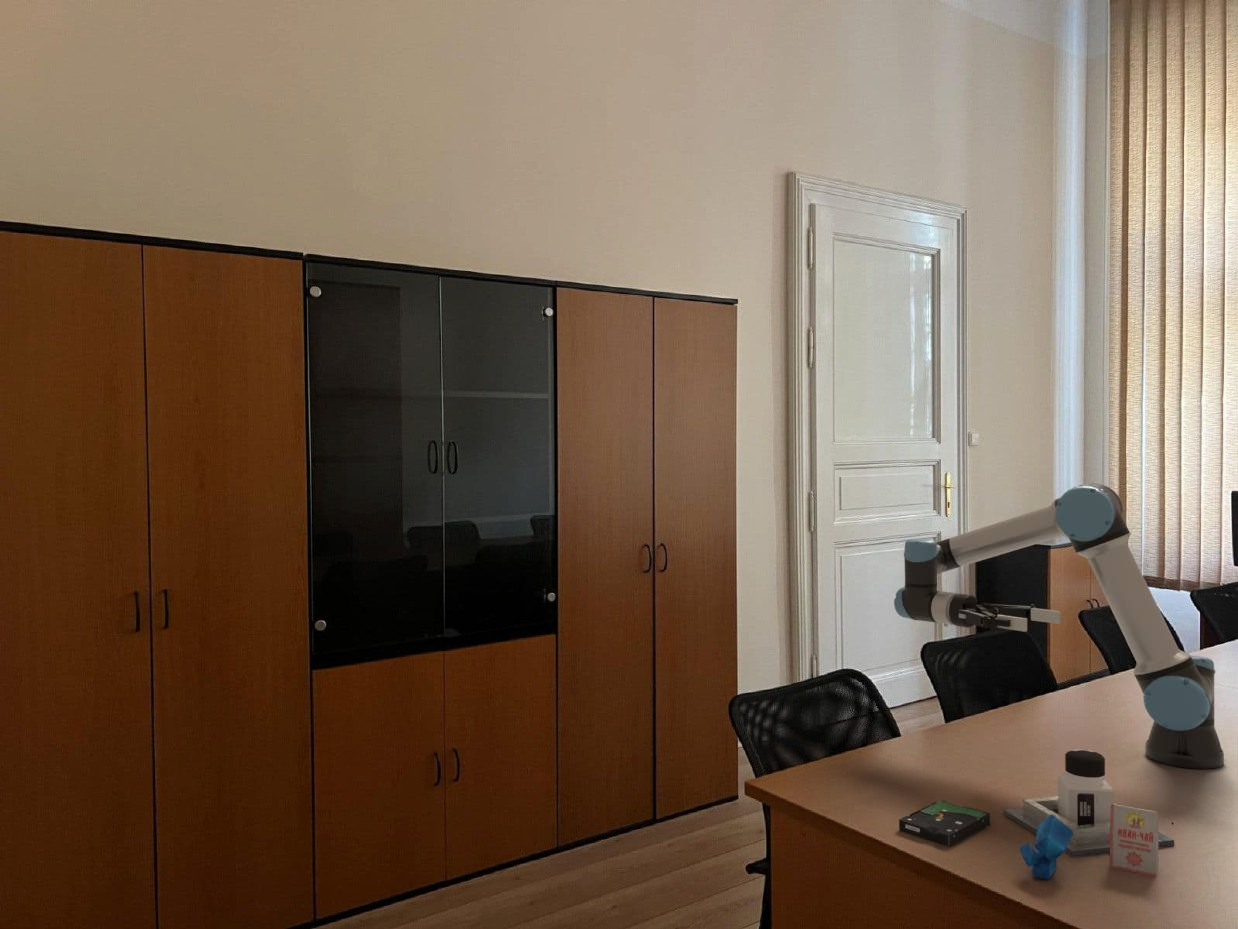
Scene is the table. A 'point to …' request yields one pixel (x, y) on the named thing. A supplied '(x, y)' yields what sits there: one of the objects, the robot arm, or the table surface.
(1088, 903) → the table surface
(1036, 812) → the collar plate
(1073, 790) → the container
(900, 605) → the robot arm
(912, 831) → the disk drive
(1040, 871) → the blue lump
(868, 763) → the table surface
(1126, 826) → the tea bag
